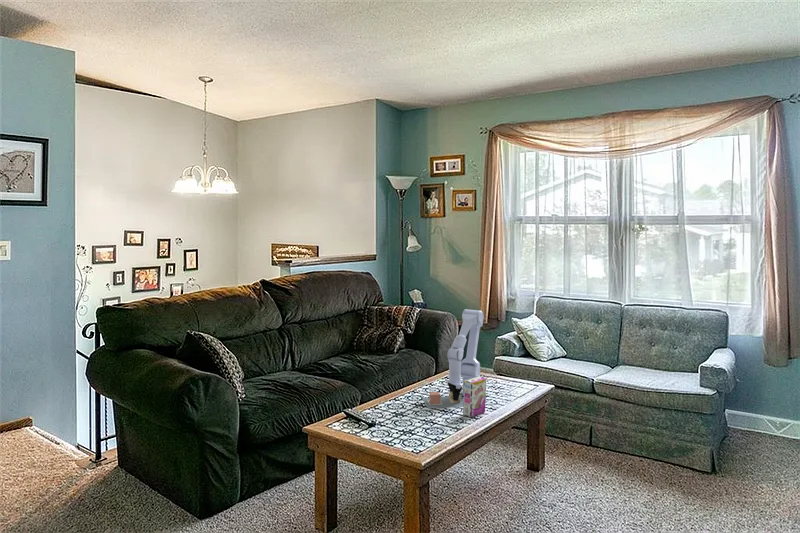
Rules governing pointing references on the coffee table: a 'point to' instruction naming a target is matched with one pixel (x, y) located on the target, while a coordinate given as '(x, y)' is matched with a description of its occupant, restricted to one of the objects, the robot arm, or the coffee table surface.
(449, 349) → the robot arm
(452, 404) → the grey flat plate
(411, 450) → the coffee table surface
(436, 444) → the coffee table surface
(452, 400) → the maple block
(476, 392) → the candy bar box
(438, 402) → the brick-red base block
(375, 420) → the coffee table surface
